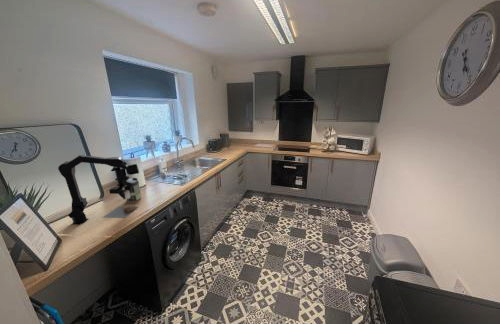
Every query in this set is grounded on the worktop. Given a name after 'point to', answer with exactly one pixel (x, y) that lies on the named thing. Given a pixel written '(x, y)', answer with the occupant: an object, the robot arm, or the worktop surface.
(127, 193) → the cap
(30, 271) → the worktop surface
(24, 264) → the worktop surface
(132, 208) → the base
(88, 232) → the worktop surface
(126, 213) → the board
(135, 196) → the coffee can
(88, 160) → the robot arm
